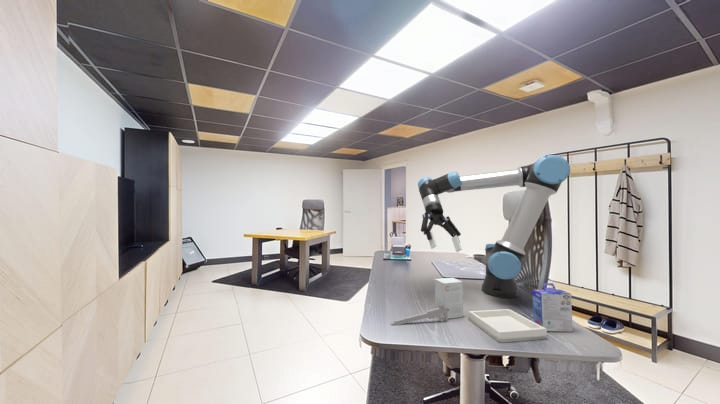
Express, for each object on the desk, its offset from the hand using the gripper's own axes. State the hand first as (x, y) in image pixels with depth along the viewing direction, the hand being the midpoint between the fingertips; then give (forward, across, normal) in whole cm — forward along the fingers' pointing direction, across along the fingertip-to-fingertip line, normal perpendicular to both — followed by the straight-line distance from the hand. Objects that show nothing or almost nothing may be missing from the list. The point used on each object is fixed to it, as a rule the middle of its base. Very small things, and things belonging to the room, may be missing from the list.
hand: (446, 248), depth 106 cm
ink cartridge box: (+33, -22, +13) cm, 42 cm away
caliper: (+27, +16, -8) cm, 32 cm away
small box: (+24, +2, -8) cm, 25 cm away
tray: (+31, -7, +7) cm, 33 cm away
